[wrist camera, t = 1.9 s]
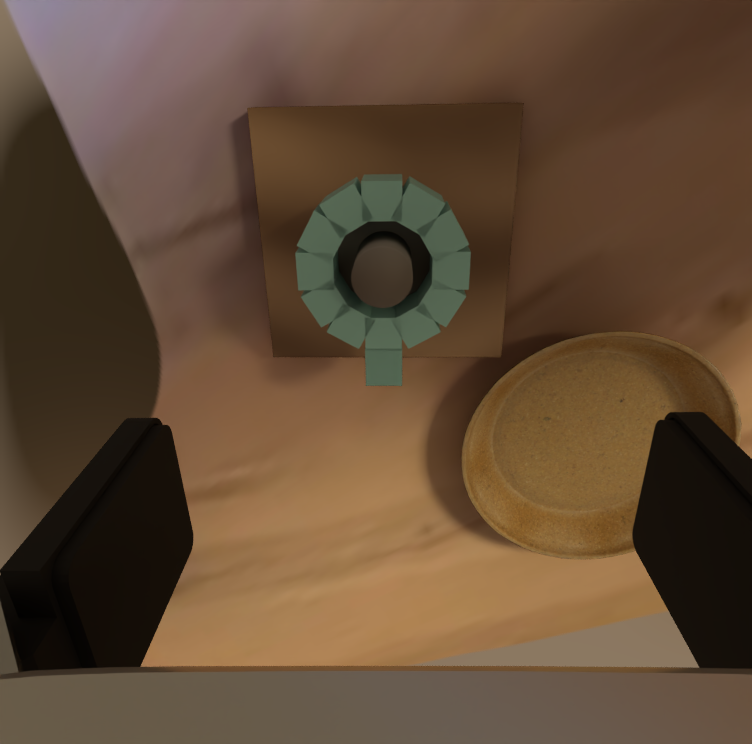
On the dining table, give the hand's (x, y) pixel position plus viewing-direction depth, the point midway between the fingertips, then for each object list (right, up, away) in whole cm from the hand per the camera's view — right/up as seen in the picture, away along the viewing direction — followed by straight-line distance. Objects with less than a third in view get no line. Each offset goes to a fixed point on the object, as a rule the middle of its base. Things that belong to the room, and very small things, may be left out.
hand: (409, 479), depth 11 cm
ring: (0, +7, +14) cm, 15 cm away
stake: (0, +9, +17) cm, 19 cm away
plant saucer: (+11, -1, +22) cm, 25 cm away
